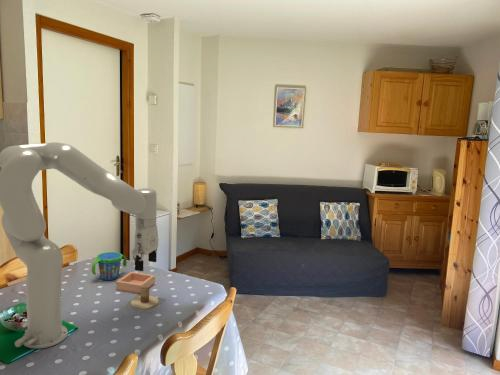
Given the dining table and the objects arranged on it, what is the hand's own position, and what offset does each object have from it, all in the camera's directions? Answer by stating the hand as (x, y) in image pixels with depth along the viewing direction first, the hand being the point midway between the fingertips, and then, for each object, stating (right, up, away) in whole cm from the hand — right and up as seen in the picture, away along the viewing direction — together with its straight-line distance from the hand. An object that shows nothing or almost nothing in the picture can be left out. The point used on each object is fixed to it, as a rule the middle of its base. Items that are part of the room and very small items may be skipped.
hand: (146, 265), depth 143 cm
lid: (-1, -15, +2) cm, 15 cm away
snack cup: (-23, -11, +25) cm, 35 cm away
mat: (-1, -15, +2) cm, 15 cm away
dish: (-9, -12, +16) cm, 22 cm away
